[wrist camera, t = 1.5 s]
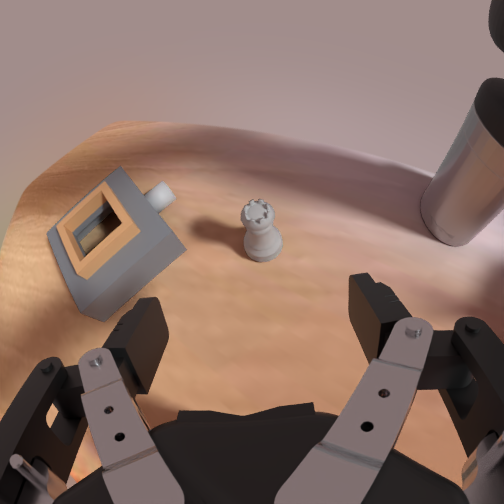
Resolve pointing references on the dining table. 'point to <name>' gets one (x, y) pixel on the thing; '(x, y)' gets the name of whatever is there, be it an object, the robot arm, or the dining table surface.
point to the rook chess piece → (260, 231)
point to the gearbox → (114, 244)
